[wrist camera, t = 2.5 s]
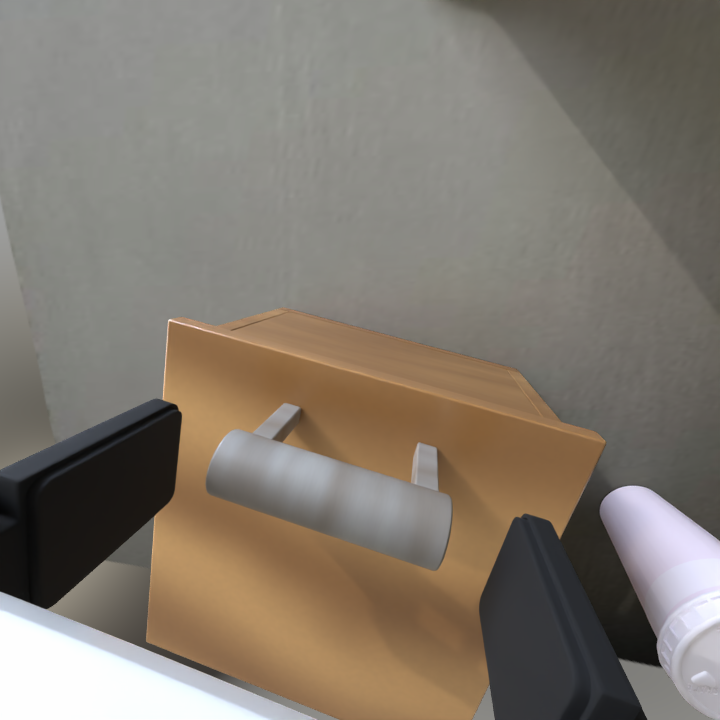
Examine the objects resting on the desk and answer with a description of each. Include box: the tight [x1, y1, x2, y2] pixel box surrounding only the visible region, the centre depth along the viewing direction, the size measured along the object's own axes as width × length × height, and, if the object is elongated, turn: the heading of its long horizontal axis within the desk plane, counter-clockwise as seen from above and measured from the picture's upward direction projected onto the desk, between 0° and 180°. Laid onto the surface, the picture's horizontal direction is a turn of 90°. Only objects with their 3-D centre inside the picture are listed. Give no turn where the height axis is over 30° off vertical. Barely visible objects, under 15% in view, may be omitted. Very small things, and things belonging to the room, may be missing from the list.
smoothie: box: [600, 486, 720, 720], centre depth 16 cm, size 6×6×14 cm
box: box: [217, 308, 561, 422], centre depth 20 cm, size 16×16×10 cm
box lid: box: [146, 317, 606, 720], centre depth 13 cm, size 17×16×5 cm
